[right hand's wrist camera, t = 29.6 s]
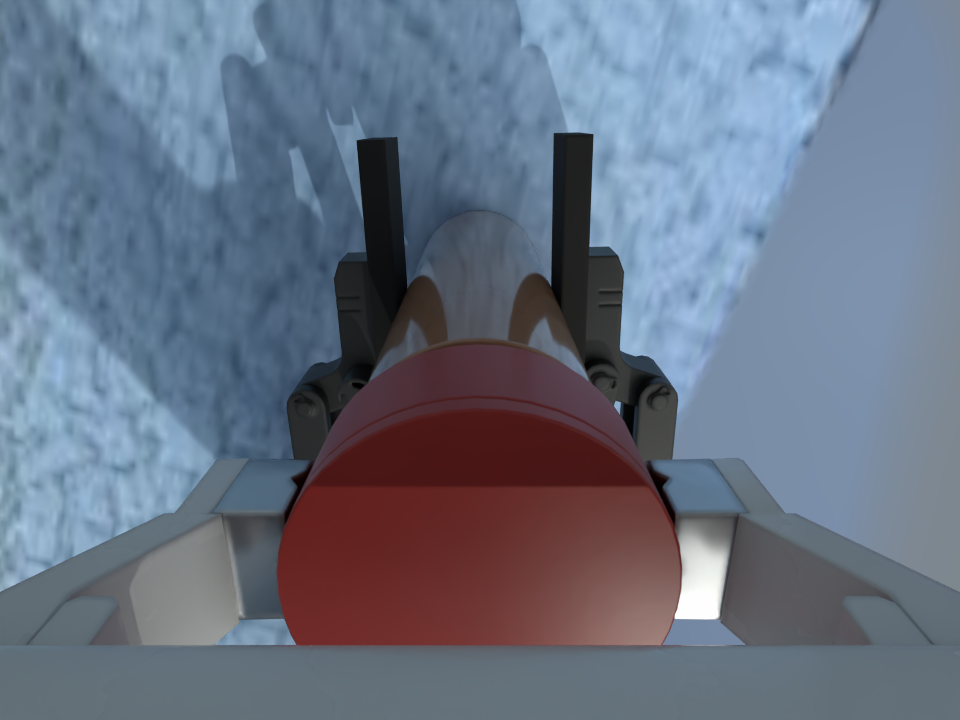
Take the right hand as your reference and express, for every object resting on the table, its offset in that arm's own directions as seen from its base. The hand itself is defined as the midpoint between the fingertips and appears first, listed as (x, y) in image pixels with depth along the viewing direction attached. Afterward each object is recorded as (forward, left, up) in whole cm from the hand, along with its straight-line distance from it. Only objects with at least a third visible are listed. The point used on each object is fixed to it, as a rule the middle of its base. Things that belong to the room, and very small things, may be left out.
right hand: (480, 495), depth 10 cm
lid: (0, 0, +2) cm, 2 cm away
